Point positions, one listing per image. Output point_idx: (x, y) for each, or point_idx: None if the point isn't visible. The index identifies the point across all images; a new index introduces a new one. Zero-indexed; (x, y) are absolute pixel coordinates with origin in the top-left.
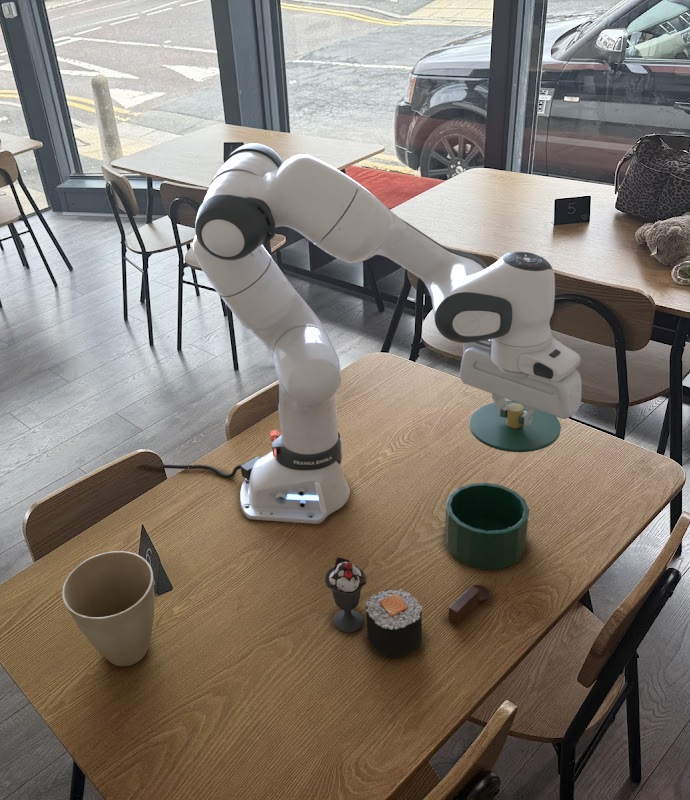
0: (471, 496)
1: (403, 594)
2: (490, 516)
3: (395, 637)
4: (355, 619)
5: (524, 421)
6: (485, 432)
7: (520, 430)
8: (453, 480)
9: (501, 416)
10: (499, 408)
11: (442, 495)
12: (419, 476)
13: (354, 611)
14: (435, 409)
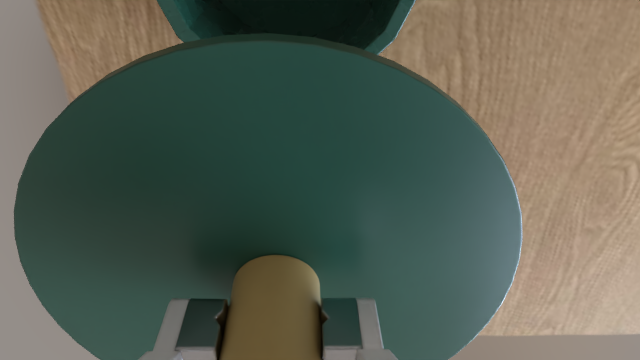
0: (378, 17)
1: None
2: (325, 33)
3: None
4: None
5: (180, 321)
6: (369, 141)
7: (213, 259)
8: (470, 106)
9: (349, 298)
10: (370, 346)
11: (472, 41)
12: (555, 70)
13: None
14: (592, 269)
